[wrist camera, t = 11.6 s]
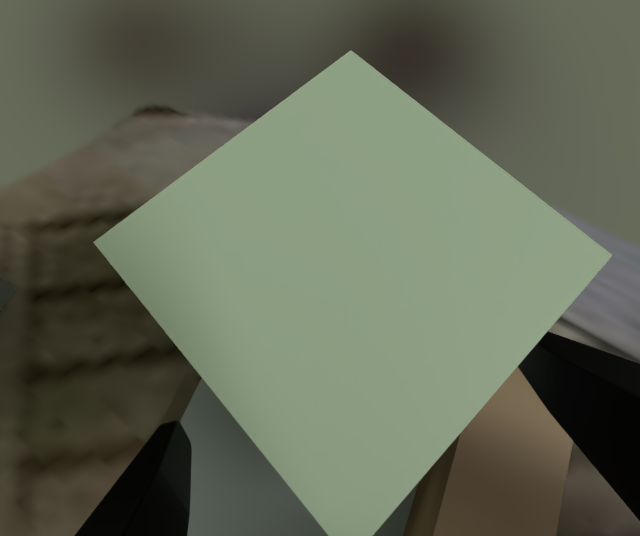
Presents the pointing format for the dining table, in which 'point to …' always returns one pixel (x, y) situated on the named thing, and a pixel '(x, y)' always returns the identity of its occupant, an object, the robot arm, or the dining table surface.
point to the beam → (497, 472)
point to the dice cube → (6, 292)
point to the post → (351, 286)
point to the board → (246, 481)
